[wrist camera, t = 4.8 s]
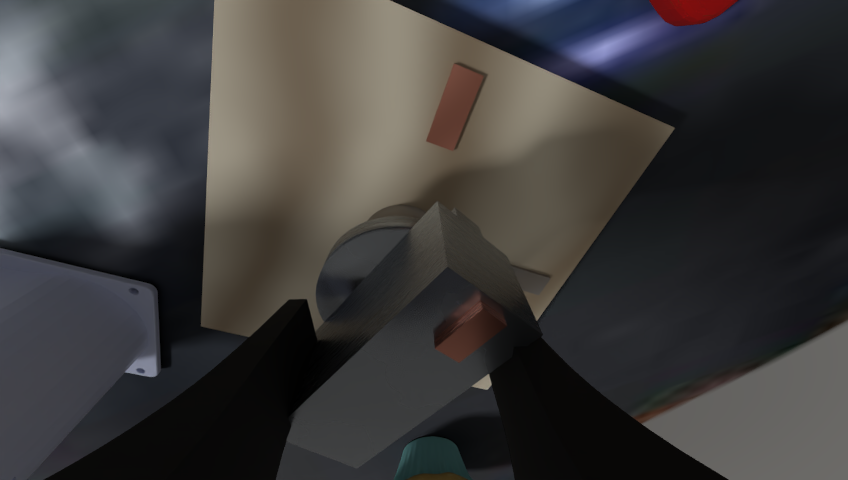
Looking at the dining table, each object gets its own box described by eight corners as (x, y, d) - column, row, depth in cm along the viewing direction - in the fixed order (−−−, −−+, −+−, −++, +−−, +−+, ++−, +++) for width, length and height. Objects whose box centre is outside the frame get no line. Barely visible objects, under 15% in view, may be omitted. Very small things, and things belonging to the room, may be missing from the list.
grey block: (396, 366, 16) (389, 491, 11) (283, 306, 14) (219, 428, 9) (523, 258, 13) (582, 369, 8) (403, 160, 11) (395, 236, 6)
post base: (214, 308, 20) (165, 371, 16) (240, -63, 11) (149, -123, 7) (483, 370, 23) (497, 435, 19) (652, 121, 15) (737, 145, 11)
